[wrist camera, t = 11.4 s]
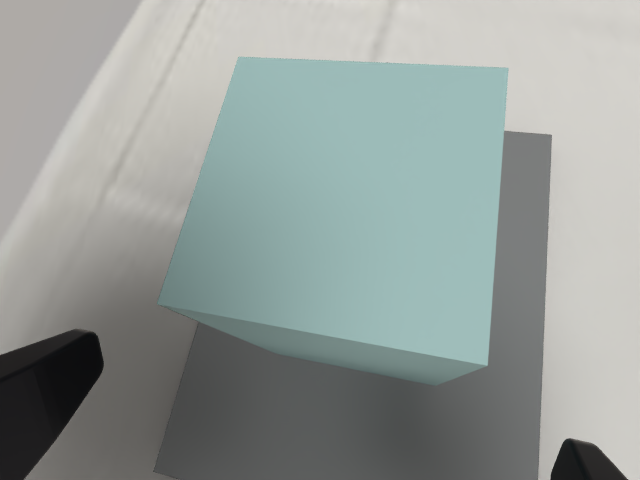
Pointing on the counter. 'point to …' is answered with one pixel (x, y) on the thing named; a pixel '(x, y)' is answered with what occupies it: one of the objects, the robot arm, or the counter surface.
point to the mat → (382, 384)
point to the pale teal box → (349, 215)
